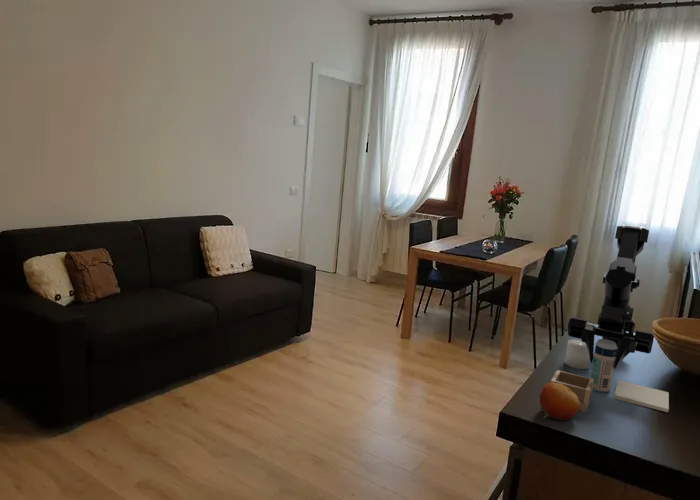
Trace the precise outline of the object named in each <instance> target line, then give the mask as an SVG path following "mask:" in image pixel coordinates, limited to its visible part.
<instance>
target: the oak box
mask: <svg viewBox="0 0 700 500" xmlns="http://www.w3.org/2000/svg"><path fill="white" fill-rule="evenodd" d="M551 382H553V383H561V384H563V385H564V386H566V387H568V388H569V389H570V390H571V391H572V392H574V393H575V394H576V395H577V397H578V400H579V401H580V403H581V406H580V408H579V411H580V412H584V413H587V412H588V408H589V406H590V402H591V400H592V394H593V383H594V379H592V378H590V377H589V376H583V375H579V374H575V373H572V372H571V373H570V372H568V371H563V370H561V369H560V370H559V369H557V370H556V371H555V373H554V375H553V376H552V378H551V379H550V383H551ZM579 411H578V412H579Z"/></svg>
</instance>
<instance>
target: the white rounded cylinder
mask: <svg viewBox="0 0 700 500" xmlns="http://www.w3.org/2000/svg"><path fill="white" fill-rule="evenodd" d="M565 352H566V353H565V359H564V364H566V366H568V367H570V368H573V369H578V370H579V369H580V370H587V369H589V367H590V358H589V352H588V348H587V346H586V343H585V342H582V341H581V339H579V340H578V339H568V341H567V347H566V351H565Z"/></svg>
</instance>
